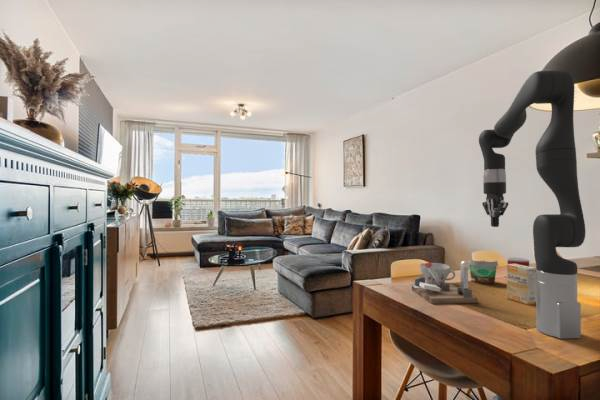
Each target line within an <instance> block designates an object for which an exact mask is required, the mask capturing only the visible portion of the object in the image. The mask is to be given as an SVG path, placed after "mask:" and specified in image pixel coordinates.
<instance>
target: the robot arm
mask: <svg viewBox="0 0 600 400" xmlns="http://www.w3.org/2000/svg"><path fill="white" fill-rule="evenodd" d="M574 102H575V80H574V75H573V74H572V73H571V72H570V71H568V70H561V69H560V70H540V71H536V72H533V73H532V74H530V75H529V76H528V77H527V79H526V80H525V81H524V83H523V85H522V87H520V89H519V91H518V93H517V94H516V96H515V98H514V100H513V101H512V102H511V105H510V106H509V108H508V110H507V111H506V112H505V113H504V114H503V115H502V116H501V118H500V119H498V120H497V122H496V123H495V124H494V127H493V129H484V130H482V131H481V133H480V134H479V135H478V144H479V147H480V150H481V153H482V157H483V163H484V164H483V177H482V178H483V194H484V195H486V197H485V201H484V202H482V207H483V209H484V212H485V213H486V215H487V216H489V217H490V227H493V228H499V227H500V217H501V216H504V214H505V212H506V210H507V208H508V207H509V202H507V201H506V202H505V200H504V199H505V198H504V195H505V194H506V193H507V173H506V157H505V155H504V154H503V153H502V154H501V153H497V152H495V151H494V149H503V148H505V147H507V146H509V145H510V144H511V141H512V139H513V137H514V134H515V133H517V132H518V131H519V130H520V129H521V128H522V127H523V125H524V124H525V123H526V120H527V117H528V116H527V108H529V107H530V106H531V105H533V104H537V105H538V104H539V105H540V104H543V105H544V104H550V105H551V118H550V122H549V124H548V126H547V127H546V129H545V131H544V132H543V133H542V135H541V137H540V139H539V140H538V142H537V144H536V145H535V162H536V163H535V164H536V171H537V173H538V175H539V177H540V178H541V179H542V181H543V182H544V183H545V184H546V185H547V187H548V188H549V189H550V190H551V192H552V193H553V194H554V196H555V198H556V200H557V203H558V207H559V214H554V213H553V214H551V213H550V214H549V213H547V214H539V215H538V216H536V218H535V219H534V221H533V226H532V236H533V237H532V238H533V253H534V259H535V265H536V266H535V268H536V304H535V305H536V306H535V307H536V309H535V311H536V314H535V315H536V316H535V317H536V330H537V331H538V332H539V333H542V334H545V335H547V336H550V337H555V338H556V339H557V338H558V339H561V340H562V339H565V340H566V339H581V338H582V333H581V332H582V326H581V325H582V322H581V321H582V319H581V318H582V315H581V313H582V310H581V309H582V307H581V306H582V304H581V303H580V302H579V301H578V265H577V263H576V262H575V261H572V260H570V259H567V258H564V257H562V256H560V255H559V254H558V252H557V248H578V247H581V246H582V245H583V244H584V242H585V239H586V223H585V222H586V221H585V218H584V213H583V208H582V202H581V196H580V189H579V182H578V163H577V147H576V142H575V125H574V109H575V107H574V106H575V103H574Z"/></svg>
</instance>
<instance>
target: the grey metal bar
mask: <svg viewBox="0 0 600 400" xmlns="http://www.w3.org/2000/svg"><path fill="white" fill-rule="evenodd" d="M459 265H460V287H461V294H463V290H469V264H468V261H464V260H463V261H461V262H460V264H459Z"/></svg>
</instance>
